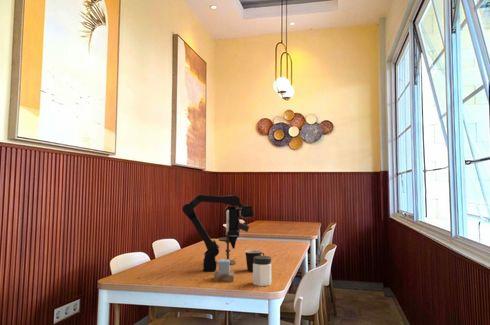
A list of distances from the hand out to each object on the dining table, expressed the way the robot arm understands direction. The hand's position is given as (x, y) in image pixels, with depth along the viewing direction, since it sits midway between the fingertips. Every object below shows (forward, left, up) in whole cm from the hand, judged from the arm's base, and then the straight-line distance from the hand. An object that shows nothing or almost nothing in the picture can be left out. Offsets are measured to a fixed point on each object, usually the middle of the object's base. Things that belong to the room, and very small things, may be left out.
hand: (233, 247), depth 193 cm
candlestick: (-4, +16, -12) cm, 20 cm away
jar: (+14, -29, -12) cm, 34 cm away
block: (-4, -21, -9) cm, 23 cm away
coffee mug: (+12, -2, -12) cm, 17 cm away
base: (-4, -21, -12) cm, 25 cm away
